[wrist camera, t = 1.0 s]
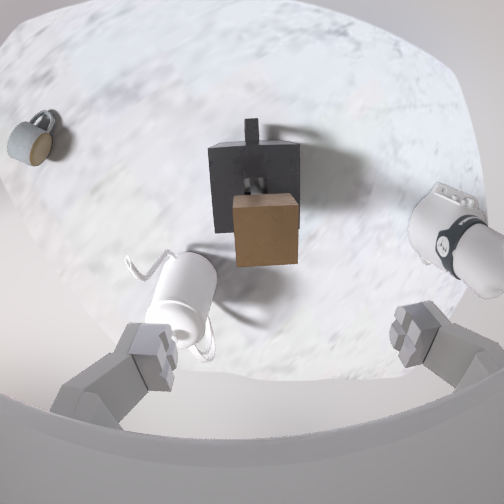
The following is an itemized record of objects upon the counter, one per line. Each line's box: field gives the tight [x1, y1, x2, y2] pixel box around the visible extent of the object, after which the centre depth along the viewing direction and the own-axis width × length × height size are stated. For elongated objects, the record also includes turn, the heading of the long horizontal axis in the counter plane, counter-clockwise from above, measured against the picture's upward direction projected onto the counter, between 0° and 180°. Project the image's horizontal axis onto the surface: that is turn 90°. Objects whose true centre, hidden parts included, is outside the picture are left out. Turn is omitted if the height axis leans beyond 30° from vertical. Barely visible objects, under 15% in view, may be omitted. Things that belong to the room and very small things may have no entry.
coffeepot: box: [125, 250, 217, 363], centre depth 44 cm, size 11×25×19 cm, turn 21°
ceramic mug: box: [7, 110, 54, 166], centre depth 36 cm, size 11×8×8 cm
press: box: [208, 118, 300, 233], centre depth 37 cm, size 10×13×16 cm
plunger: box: [233, 178, 299, 267], centre depth 26 cm, size 7×7×19 cm
